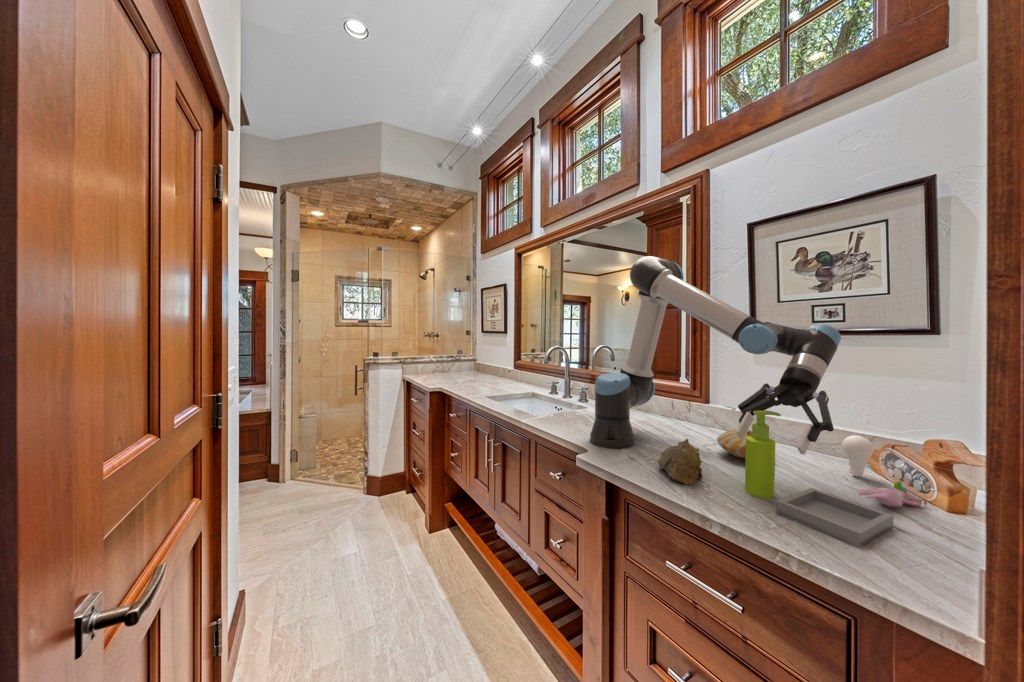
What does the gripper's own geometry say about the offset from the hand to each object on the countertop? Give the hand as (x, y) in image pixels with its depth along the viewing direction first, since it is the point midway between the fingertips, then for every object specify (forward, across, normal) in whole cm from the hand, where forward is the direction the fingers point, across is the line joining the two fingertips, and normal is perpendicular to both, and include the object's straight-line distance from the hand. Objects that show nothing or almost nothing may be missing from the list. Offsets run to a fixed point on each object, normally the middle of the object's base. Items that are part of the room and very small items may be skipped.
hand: (767, 442), depth 88 cm
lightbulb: (-13, -5, -31) cm, 34 cm away
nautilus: (-7, +17, -25) cm, 31 cm away
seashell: (+15, +18, -3) cm, 24 cm away
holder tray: (+9, -13, -8) cm, 18 cm away
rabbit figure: (-4, -16, -22) cm, 28 cm away
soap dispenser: (+10, +1, -8) cm, 13 cm away
